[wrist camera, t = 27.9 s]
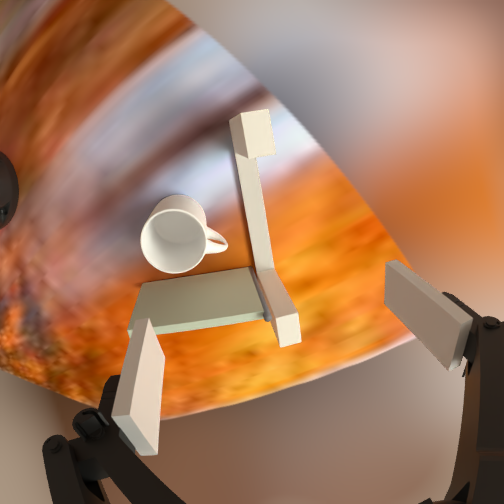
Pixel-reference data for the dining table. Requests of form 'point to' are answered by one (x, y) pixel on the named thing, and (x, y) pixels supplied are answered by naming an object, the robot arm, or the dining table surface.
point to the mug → (178, 235)
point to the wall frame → (262, 218)
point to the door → (201, 301)
